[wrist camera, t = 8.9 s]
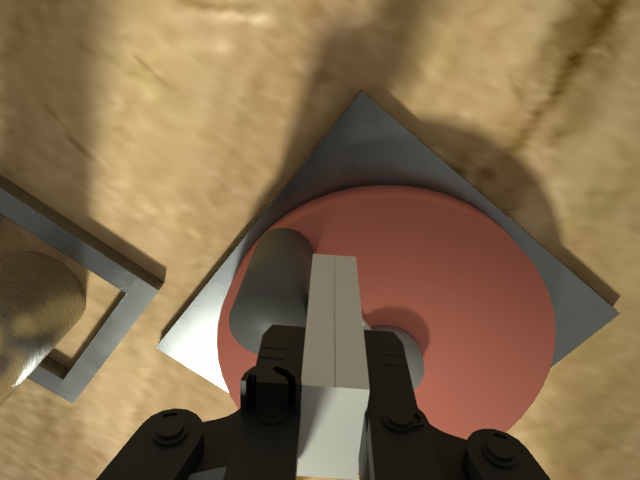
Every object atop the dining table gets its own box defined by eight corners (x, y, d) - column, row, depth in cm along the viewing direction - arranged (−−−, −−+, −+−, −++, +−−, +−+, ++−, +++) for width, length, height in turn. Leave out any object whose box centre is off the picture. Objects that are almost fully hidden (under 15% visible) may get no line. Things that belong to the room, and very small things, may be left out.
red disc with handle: (599, 352, 24) (697, 469, 17) (357, 488, 28) (363, 622, 22) (408, 103, 19) (445, 136, 13) (156, 313, 24) (88, 416, 17)
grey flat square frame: (-80, 303, 25) (-92, 311, 24) (-11, 168, 22) (-22, 173, 21) (80, 393, 27) (73, 403, 27) (164, 283, 24) (158, 290, 23)
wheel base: (159, 341, 26) (155, 347, 25) (361, 89, 20) (362, 91, 19) (389, 483, 29) (390, 492, 29) (613, 307, 24) (619, 313, 23)
